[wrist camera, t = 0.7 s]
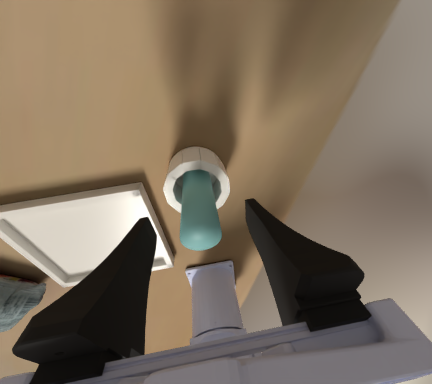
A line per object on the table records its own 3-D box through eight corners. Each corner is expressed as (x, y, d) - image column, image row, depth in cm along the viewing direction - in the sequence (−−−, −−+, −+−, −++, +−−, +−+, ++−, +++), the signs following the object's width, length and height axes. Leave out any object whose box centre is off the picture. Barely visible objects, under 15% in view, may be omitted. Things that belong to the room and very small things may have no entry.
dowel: (211, 184, 19) (223, 246, 12) (186, 188, 19) (184, 253, 12) (207, 161, 18) (219, 218, 11) (180, 165, 17) (175, 225, 11)
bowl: (225, 190, 21) (231, 209, 18) (175, 199, 20) (173, 219, 17) (220, 142, 17) (226, 155, 14) (161, 151, 17) (155, 167, 14)
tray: (174, 258, 27) (173, 266, 25) (69, 277, 26) (63, 287, 25) (141, 181, 19) (138, 189, 17) (-12, 207, 18) (-27, 216, 17)
